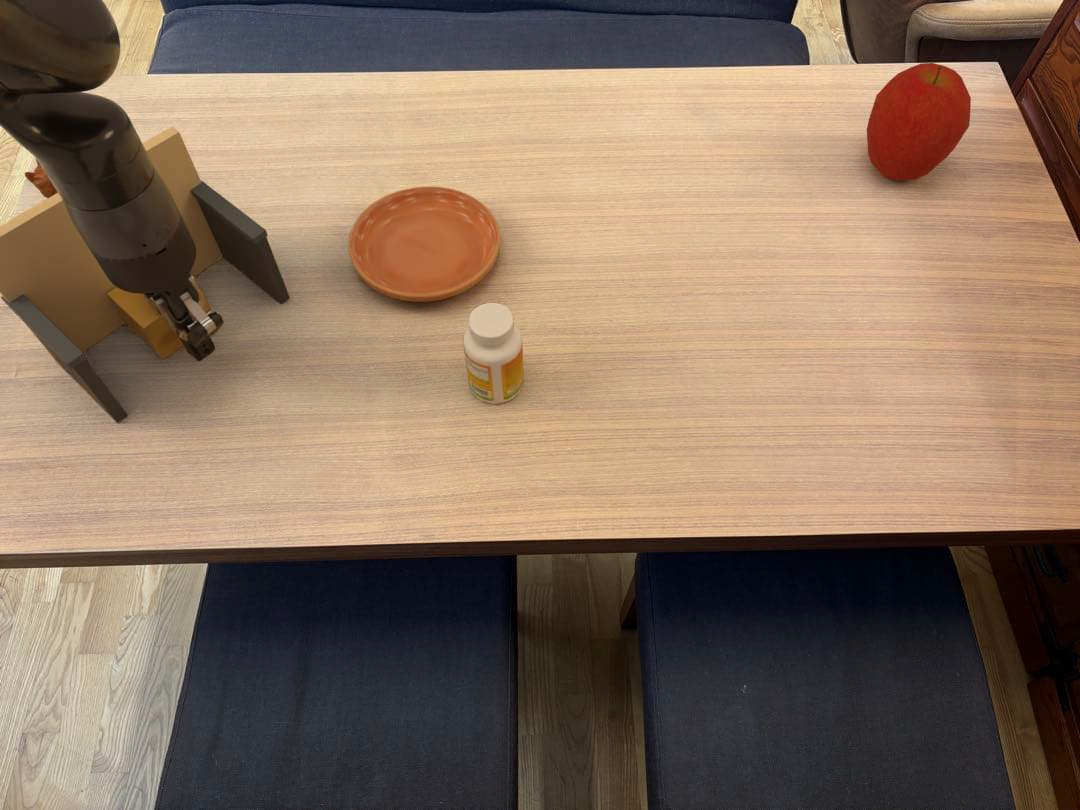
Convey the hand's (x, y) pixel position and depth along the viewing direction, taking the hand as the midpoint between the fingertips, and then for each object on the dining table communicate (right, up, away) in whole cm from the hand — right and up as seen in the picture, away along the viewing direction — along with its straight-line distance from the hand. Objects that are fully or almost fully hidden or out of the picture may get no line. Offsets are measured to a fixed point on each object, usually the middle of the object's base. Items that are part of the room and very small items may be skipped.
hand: (203, 352), depth 83 cm
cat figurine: (-14, +16, +13) cm, 25 cm away
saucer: (+21, +11, +9) cm, 25 cm away
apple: (+74, +22, +16) cm, 79 cm away
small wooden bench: (-4, +3, +4) cm, 6 cm away
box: (-5, +3, +4) cm, 7 cm away
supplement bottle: (+29, -3, 0) cm, 29 cm away
